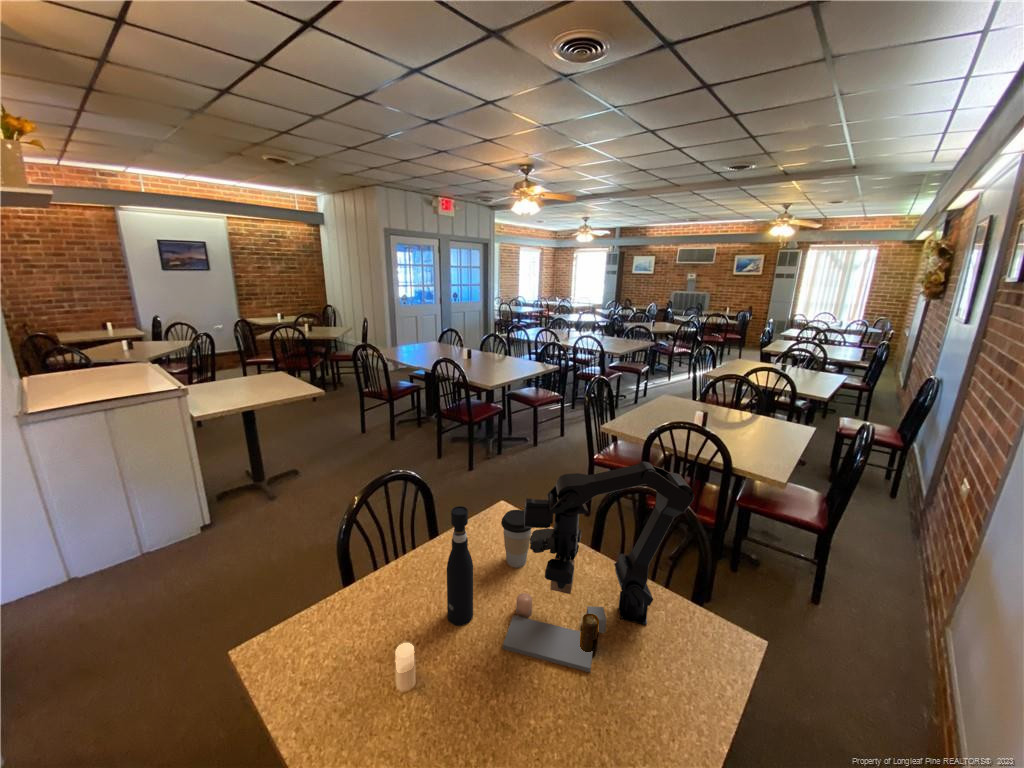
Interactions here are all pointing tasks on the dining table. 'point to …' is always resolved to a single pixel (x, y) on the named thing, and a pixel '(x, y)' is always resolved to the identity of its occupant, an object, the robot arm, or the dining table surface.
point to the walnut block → (567, 587)
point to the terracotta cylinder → (524, 605)
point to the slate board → (547, 643)
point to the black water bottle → (459, 572)
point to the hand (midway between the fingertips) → (562, 580)
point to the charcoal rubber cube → (600, 614)
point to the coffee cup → (516, 538)
